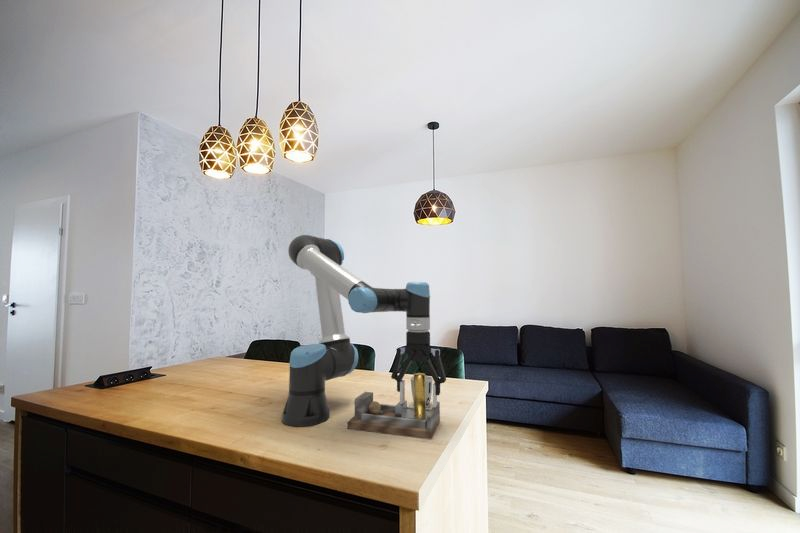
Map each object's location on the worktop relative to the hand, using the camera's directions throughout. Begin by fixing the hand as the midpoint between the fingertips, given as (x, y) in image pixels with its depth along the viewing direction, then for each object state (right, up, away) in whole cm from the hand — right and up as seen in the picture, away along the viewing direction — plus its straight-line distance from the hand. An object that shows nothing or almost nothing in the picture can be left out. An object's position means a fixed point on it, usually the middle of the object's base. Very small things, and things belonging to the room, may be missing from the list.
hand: (418, 404), depth 97 cm
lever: (-1, -5, 0) cm, 5 cm away
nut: (-14, -5, +4) cm, 15 cm away
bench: (-7, -7, +1) cm, 10 cm away
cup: (+2, -9, +19) cm, 22 cm away
